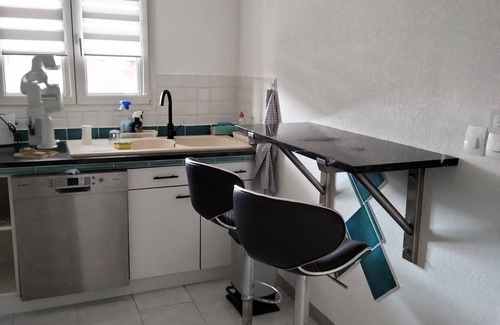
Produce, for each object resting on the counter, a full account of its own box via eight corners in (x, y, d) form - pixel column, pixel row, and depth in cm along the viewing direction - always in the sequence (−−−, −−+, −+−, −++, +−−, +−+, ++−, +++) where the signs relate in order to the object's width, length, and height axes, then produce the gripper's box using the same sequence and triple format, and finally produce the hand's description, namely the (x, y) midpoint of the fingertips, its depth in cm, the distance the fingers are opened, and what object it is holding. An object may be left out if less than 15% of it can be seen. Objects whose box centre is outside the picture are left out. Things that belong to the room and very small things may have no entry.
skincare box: (28, 145, 277) (25, 118, 274) (34, 142, 284) (32, 116, 281) (42, 145, 277) (40, 118, 273) (48, 143, 284) (46, 116, 280)
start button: (27, 150, 288) (26, 147, 288) (31, 151, 287) (31, 148, 287) (22, 151, 285) (22, 148, 284) (27, 152, 284) (27, 149, 283)
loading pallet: (32, 152, 294) (32, 146, 293) (59, 154, 288) (58, 148, 287) (13, 156, 280) (13, 150, 280) (40, 158, 274) (40, 153, 273)
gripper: (40, 103, 285) (43, 132, 289) (18, 105, 269) (21, 135, 272) (50, 103, 283) (53, 132, 286) (28, 105, 267) (31, 136, 270)
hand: (37, 134), depth 279 cm, fingers closed on skincare box, 7 cm apart
